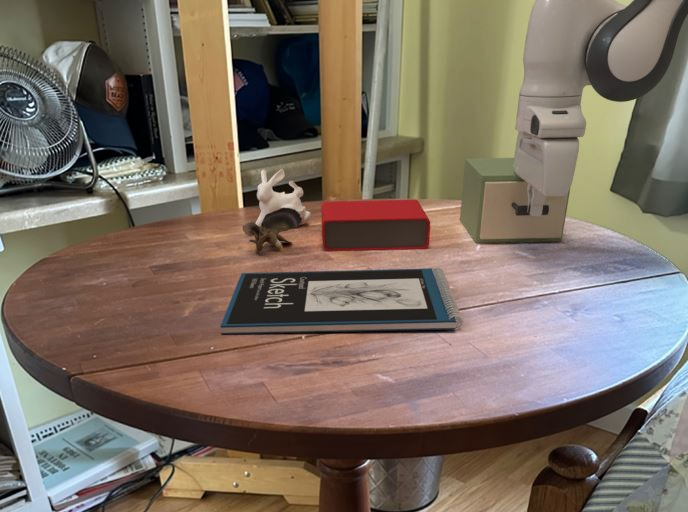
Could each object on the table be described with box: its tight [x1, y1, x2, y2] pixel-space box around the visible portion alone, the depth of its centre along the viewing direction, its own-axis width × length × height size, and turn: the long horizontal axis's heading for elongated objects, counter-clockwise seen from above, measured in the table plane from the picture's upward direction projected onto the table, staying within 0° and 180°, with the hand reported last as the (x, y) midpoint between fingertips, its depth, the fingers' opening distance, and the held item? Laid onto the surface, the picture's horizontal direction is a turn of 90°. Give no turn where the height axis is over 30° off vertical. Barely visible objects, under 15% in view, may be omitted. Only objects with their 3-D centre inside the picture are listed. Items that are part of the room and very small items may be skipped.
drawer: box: [480, 181, 569, 239], centre depth 120 cm, size 21×14×9 cm, turn 0°
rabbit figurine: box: [254, 168, 312, 227], centre depth 131 cm, size 12×8×10 cm, turn 95°
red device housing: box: [320, 199, 431, 252], centre depth 122 cm, size 18×14×5 cm
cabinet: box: [459, 157, 571, 244], centre depth 124 cm, size 17×15×11 cm
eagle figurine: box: [241, 207, 302, 255], centre depth 118 cm, size 8×7×9 cm
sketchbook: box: [219, 266, 464, 335], centre depth 95 cm, size 22×30×2 cm
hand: (534, 215), depth 111 cm, fingers closed
